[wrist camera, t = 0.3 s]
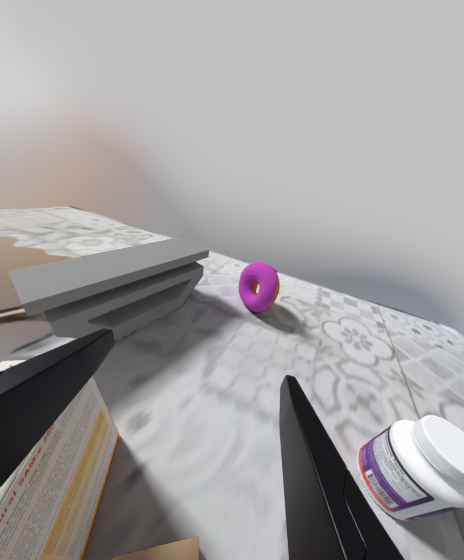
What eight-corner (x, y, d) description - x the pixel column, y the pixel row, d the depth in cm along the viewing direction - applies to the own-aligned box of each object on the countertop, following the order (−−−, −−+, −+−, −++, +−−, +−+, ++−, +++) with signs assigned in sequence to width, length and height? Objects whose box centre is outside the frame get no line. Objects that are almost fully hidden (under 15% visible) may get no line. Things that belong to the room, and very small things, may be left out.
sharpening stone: (182, 279, 45) (183, 236, 39) (205, 295, 41) (208, 249, 35) (44, 334, 27) (8, 270, 22) (60, 370, 23) (21, 304, 18)
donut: (231, 314, 37) (240, 271, 32) (237, 289, 45) (245, 251, 40) (270, 323, 36) (286, 280, 31) (269, 296, 44) (282, 258, 39)
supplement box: (68, 438, 18) (0, 356, 11) (121, 433, 19) (88, 354, 12) (-13, 605, 11) (-306, 653, 5) (76, 585, 12) (-55, 599, 5)
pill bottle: (400, 458, 21) (471, 421, 16) (427, 535, 16) (538, 518, 11) (349, 437, 22) (400, 395, 17) (361, 503, 17) (436, 474, 12)
